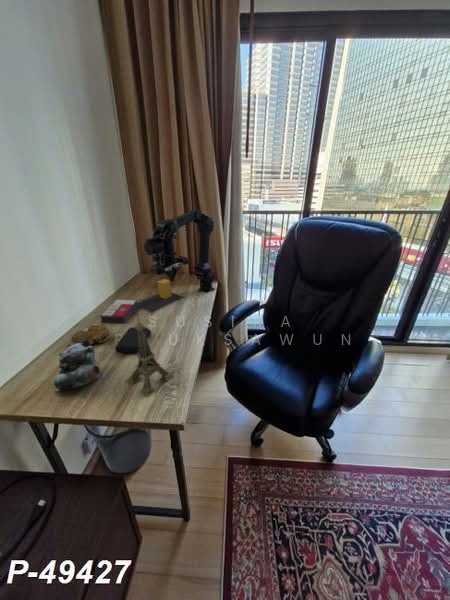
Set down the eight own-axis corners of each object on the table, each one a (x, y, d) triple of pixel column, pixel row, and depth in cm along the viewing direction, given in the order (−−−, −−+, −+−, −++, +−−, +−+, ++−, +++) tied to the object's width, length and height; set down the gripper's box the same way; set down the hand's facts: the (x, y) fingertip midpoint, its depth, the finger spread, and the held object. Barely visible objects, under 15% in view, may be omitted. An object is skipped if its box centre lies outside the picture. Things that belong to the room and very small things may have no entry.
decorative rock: (118, 331, 107) (85, 332, 108) (116, 323, 105) (82, 323, 107) (104, 347, 97) (68, 347, 98) (102, 338, 95) (64, 338, 96)
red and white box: (99, 315, 112) (116, 298, 125) (102, 323, 114) (118, 305, 127) (122, 316, 110) (137, 299, 123) (124, 324, 113) (138, 306, 125)
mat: (166, 291, 141) (166, 290, 141) (183, 297, 133) (183, 297, 133) (135, 304, 128) (135, 304, 127) (151, 313, 120) (151, 312, 120)
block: (166, 294, 137) (164, 278, 133) (171, 296, 135) (169, 280, 130) (159, 296, 134) (157, 281, 130) (165, 299, 131) (163, 283, 127)
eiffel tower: (154, 362, 89) (141, 300, 77) (173, 376, 83) (163, 311, 71) (127, 380, 82) (109, 314, 70) (146, 396, 76) (130, 327, 64)
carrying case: (141, 355, 93) (154, 332, 106) (140, 348, 91) (153, 326, 104) (114, 354, 93) (130, 331, 106) (112, 347, 92) (129, 325, 105)
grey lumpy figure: (45, 394, 77) (36, 349, 77) (79, 380, 88) (72, 341, 88) (80, 391, 72) (72, 344, 72) (112, 377, 83) (104, 336, 83)
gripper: (172, 242, 124) (176, 272, 131) (139, 251, 111) (145, 284, 118) (188, 246, 118) (190, 277, 125) (155, 256, 105) (160, 290, 112)
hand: (172, 281), depth 120 cm, fingers closed
